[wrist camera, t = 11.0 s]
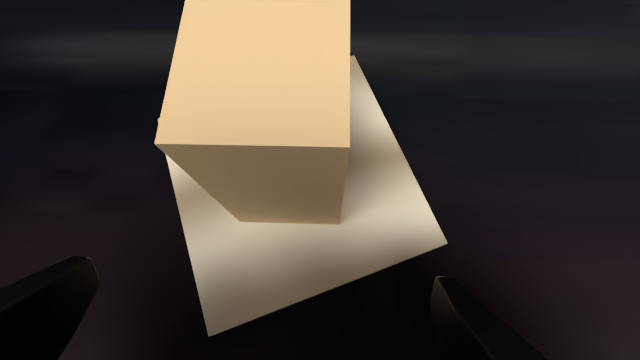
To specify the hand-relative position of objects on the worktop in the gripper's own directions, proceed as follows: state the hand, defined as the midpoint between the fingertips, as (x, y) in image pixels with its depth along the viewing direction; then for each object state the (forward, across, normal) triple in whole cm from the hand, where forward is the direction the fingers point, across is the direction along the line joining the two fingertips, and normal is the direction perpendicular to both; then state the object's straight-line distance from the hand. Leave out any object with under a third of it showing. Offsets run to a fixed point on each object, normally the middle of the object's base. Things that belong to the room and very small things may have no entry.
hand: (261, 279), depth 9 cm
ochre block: (+9, 0, +1) cm, 10 cm away
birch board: (+10, 0, +2) cm, 10 cm away
